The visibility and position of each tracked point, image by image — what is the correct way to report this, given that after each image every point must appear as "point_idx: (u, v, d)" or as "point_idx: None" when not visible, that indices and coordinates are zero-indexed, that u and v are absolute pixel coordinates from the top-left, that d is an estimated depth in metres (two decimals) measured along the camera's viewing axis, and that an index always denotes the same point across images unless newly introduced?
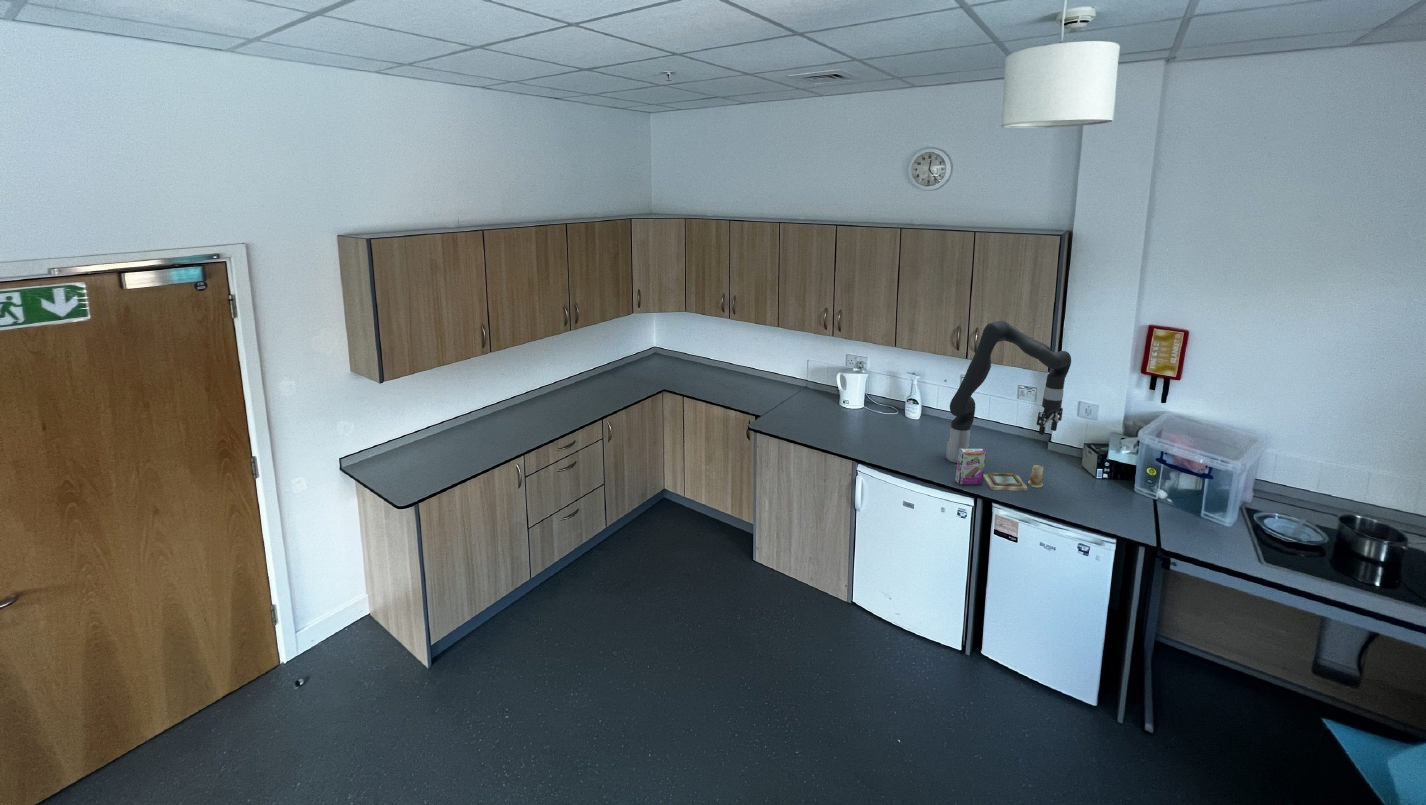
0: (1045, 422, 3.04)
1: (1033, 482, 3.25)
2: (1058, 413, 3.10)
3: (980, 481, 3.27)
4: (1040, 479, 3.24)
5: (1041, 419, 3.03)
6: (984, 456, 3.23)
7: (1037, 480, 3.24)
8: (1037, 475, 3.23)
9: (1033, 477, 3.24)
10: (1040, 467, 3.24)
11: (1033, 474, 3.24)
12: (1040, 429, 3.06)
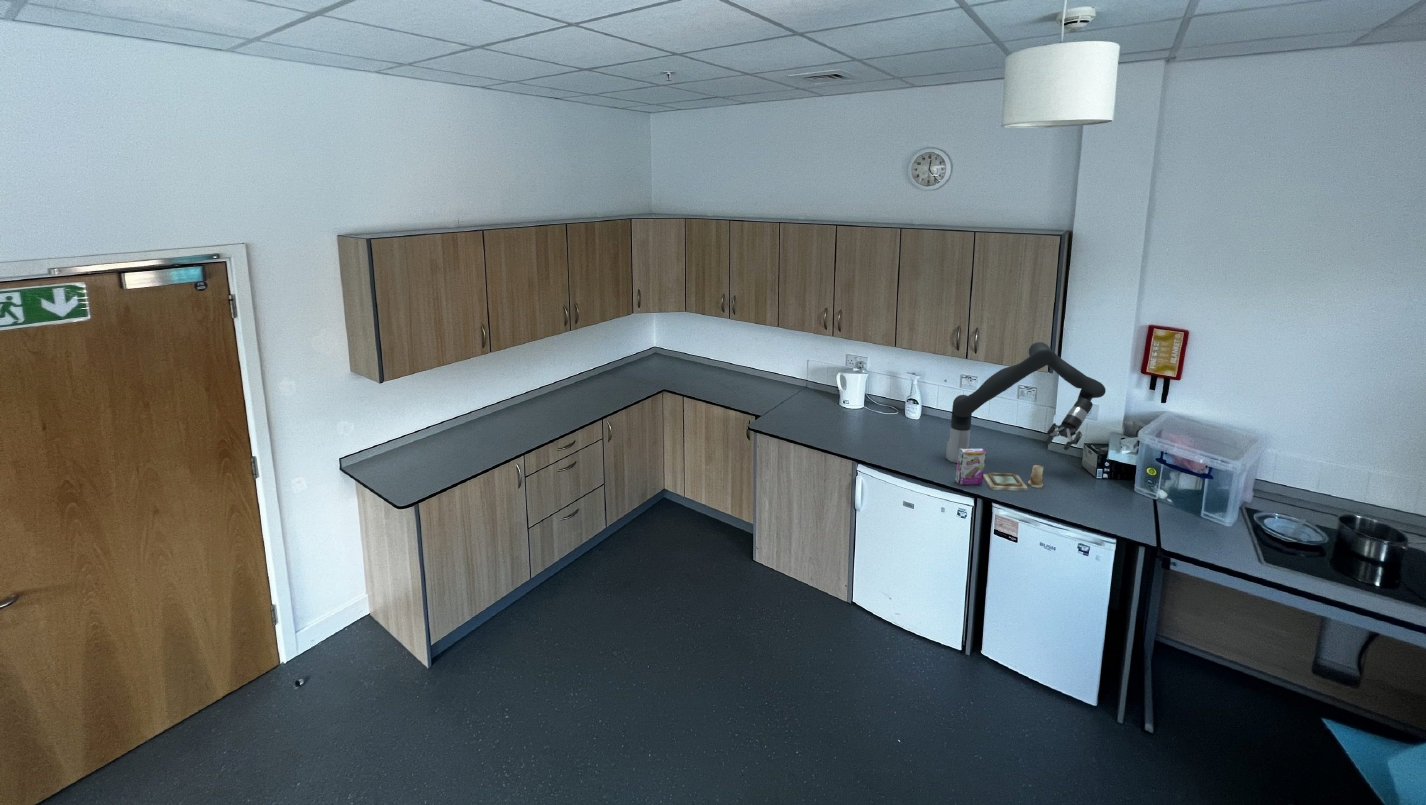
0: None
1: (1033, 482, 3.25)
2: (1053, 429, 3.33)
3: (980, 481, 3.27)
4: (1040, 479, 3.24)
5: (1079, 438, 3.23)
6: (984, 456, 3.23)
7: (1037, 480, 3.24)
8: (1037, 475, 3.23)
9: (1033, 477, 3.24)
10: (1040, 467, 3.24)
11: (1033, 474, 3.24)
12: (1069, 445, 3.23)
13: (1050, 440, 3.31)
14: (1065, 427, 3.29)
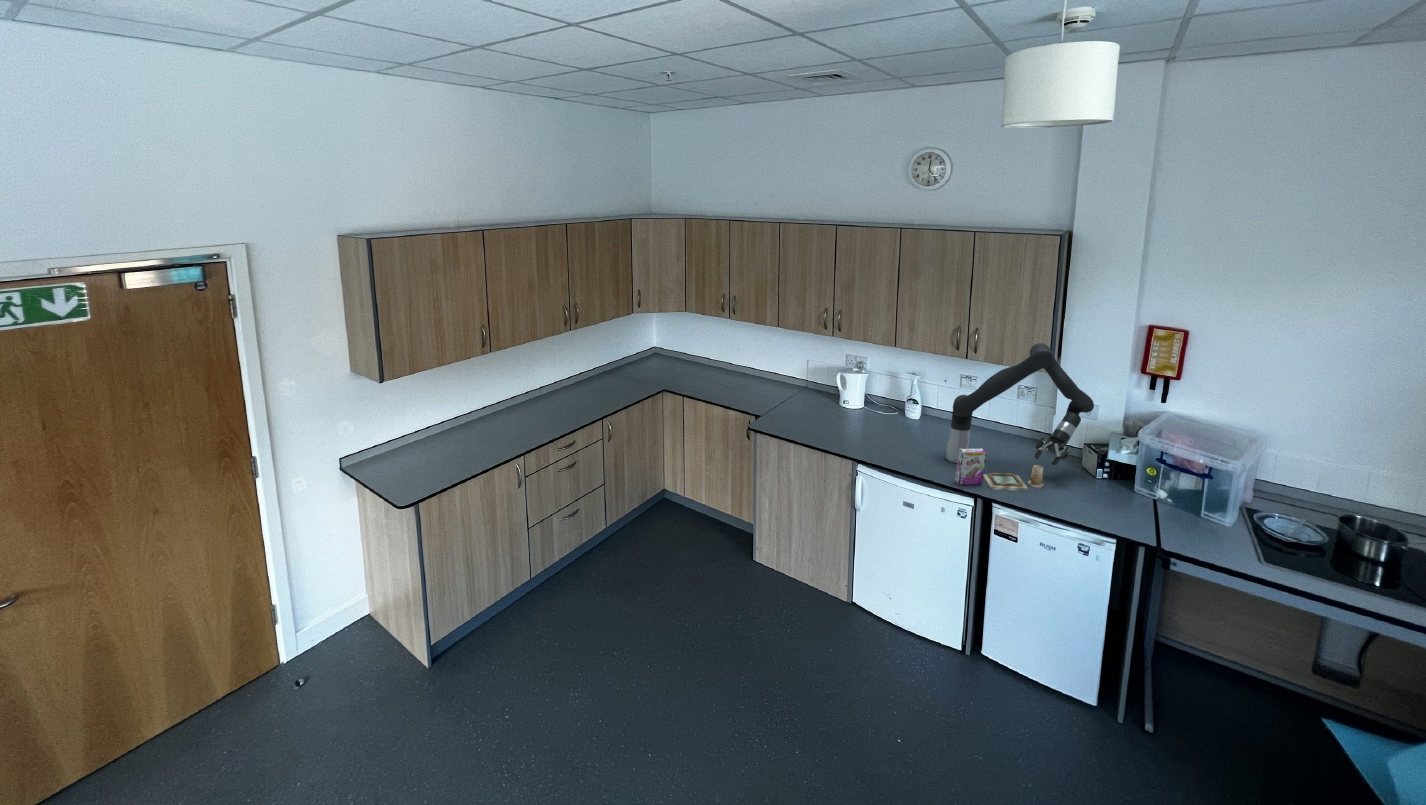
0: None
1: (1033, 482, 3.25)
2: (1042, 444, 3.31)
3: (980, 481, 3.27)
4: (1040, 479, 3.24)
5: (1067, 453, 3.22)
6: (984, 456, 3.23)
7: (1037, 480, 3.24)
8: (1037, 475, 3.23)
9: (1033, 477, 3.24)
10: (1040, 467, 3.24)
11: (1033, 474, 3.24)
12: (1057, 460, 3.22)
13: (1038, 455, 3.29)
14: (1053, 442, 3.27)
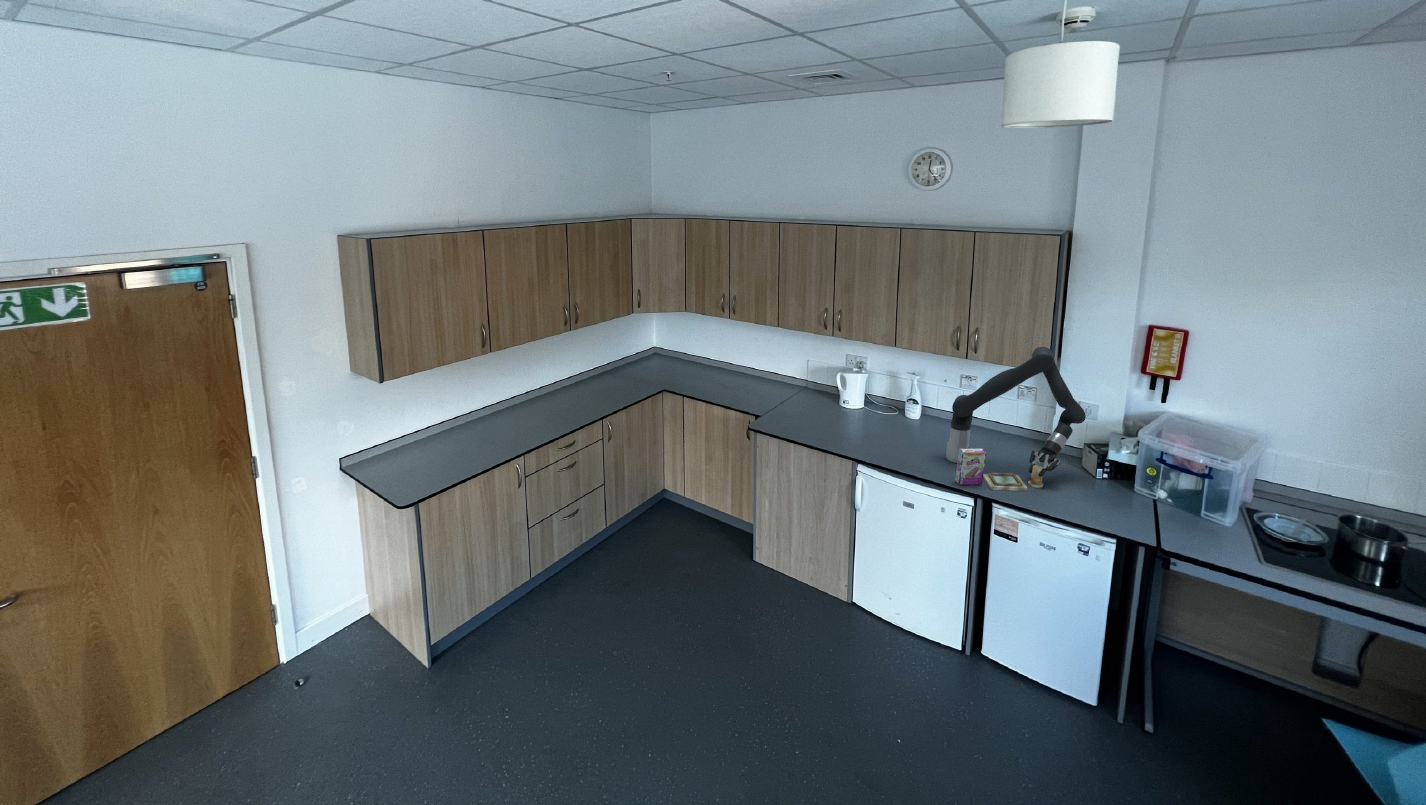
0: None
1: (1033, 482, 3.25)
2: (1034, 457, 3.29)
3: (980, 481, 3.27)
4: (1040, 479, 3.24)
5: (1055, 466, 3.21)
6: (984, 456, 3.23)
7: (1037, 480, 3.24)
8: (1037, 475, 3.23)
9: (1033, 477, 3.24)
10: (1040, 467, 3.24)
11: (1033, 474, 3.24)
12: (1044, 472, 3.21)
13: (1032, 469, 3.26)
14: (1045, 453, 3.25)
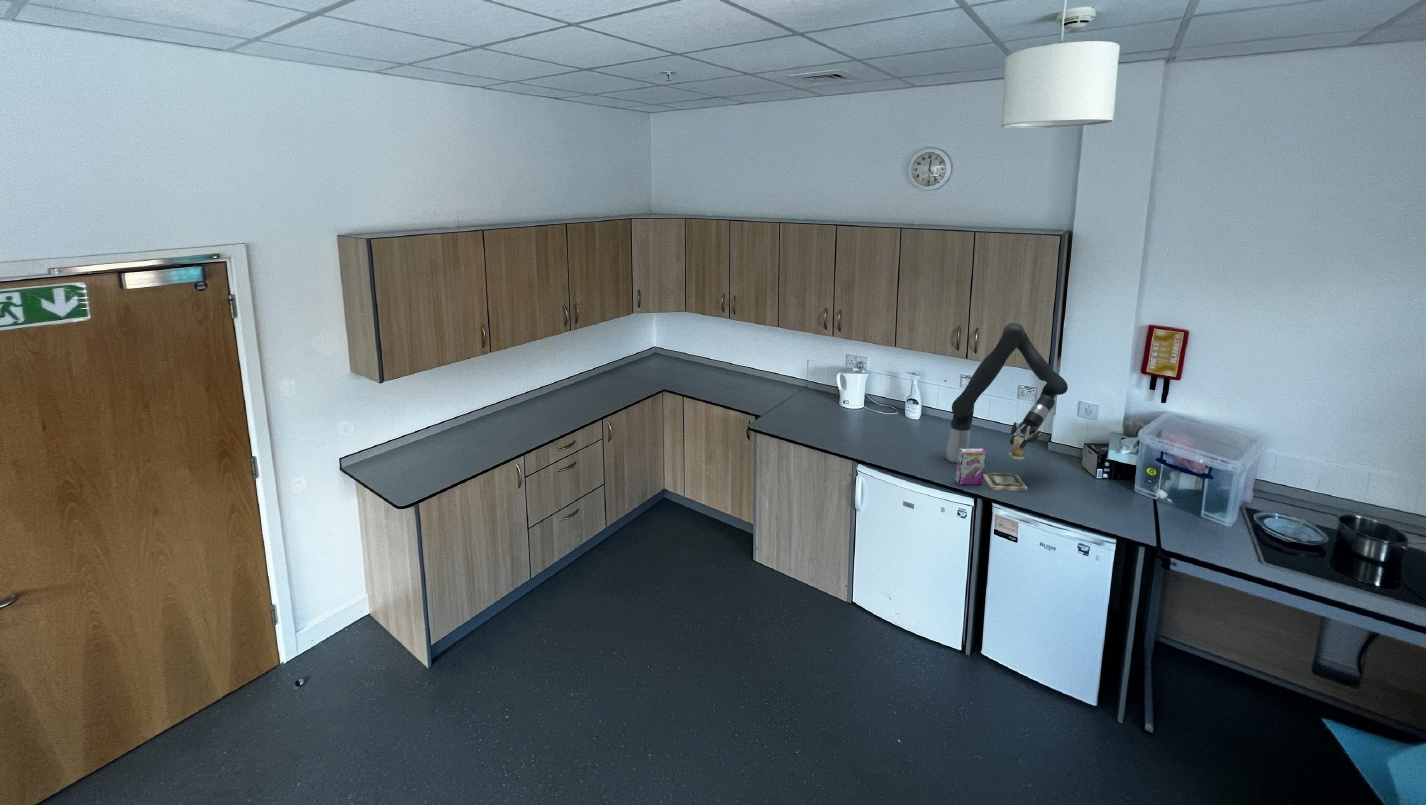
0: None
1: (1014, 453, 3.22)
2: (1015, 428, 3.26)
3: (980, 481, 3.27)
4: (1021, 450, 3.20)
5: (1037, 437, 3.17)
6: (984, 456, 3.23)
7: (1018, 452, 3.21)
8: (1018, 446, 3.20)
9: (1014, 448, 3.21)
10: (1021, 438, 3.20)
11: (1014, 445, 3.21)
12: (1025, 443, 3.18)
13: (1013, 440, 3.23)
14: (1026, 424, 3.22)
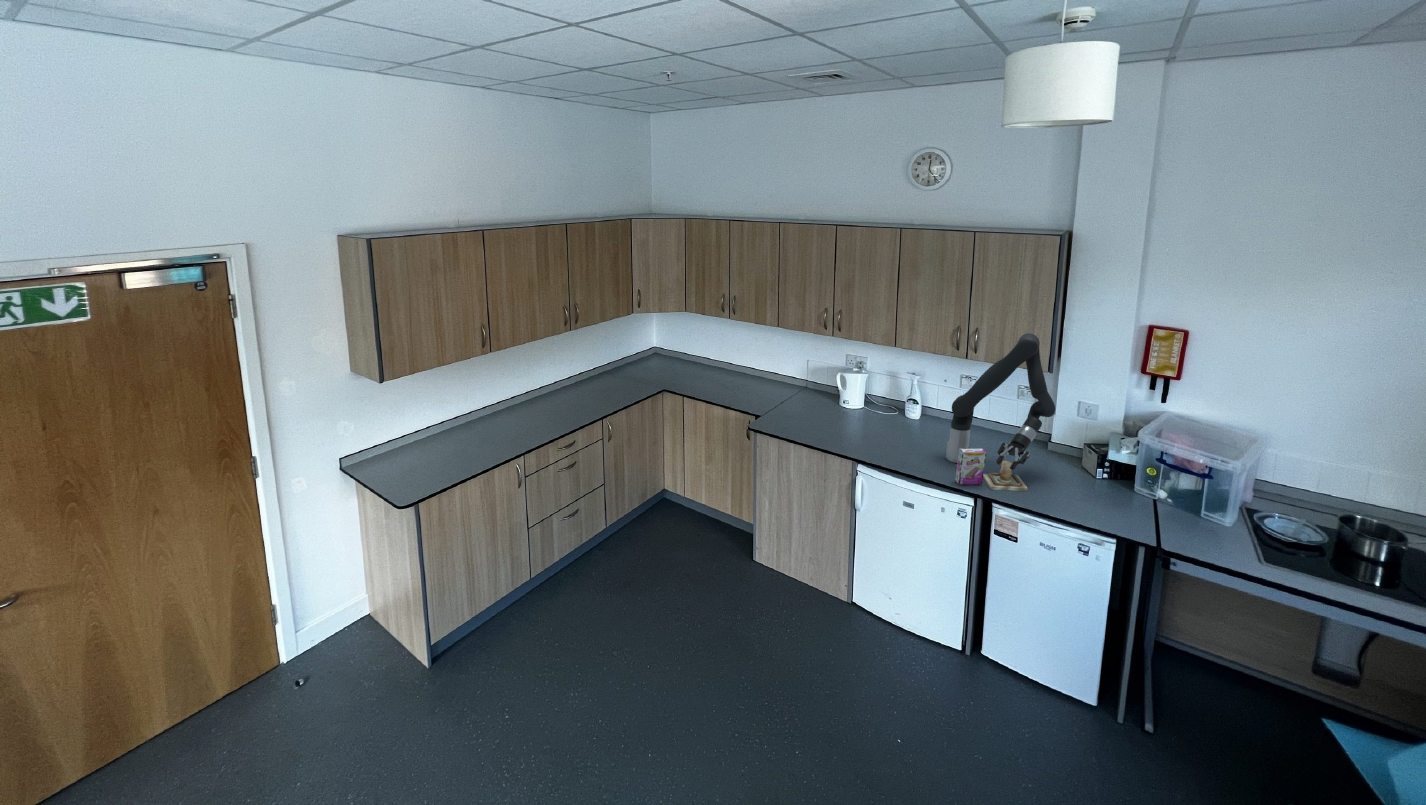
0: (1019, 460, 3.23)
1: (1002, 477, 3.26)
2: (1003, 449, 3.30)
3: (980, 481, 3.27)
4: (1009, 474, 3.25)
5: (1026, 458, 3.21)
6: (984, 456, 3.23)
7: (1006, 476, 3.25)
8: (1006, 470, 3.24)
9: (1002, 472, 3.25)
10: (1009, 463, 3.25)
11: (1002, 469, 3.25)
12: (1015, 465, 3.21)
13: (1000, 460, 3.27)
14: (1014, 446, 3.26)
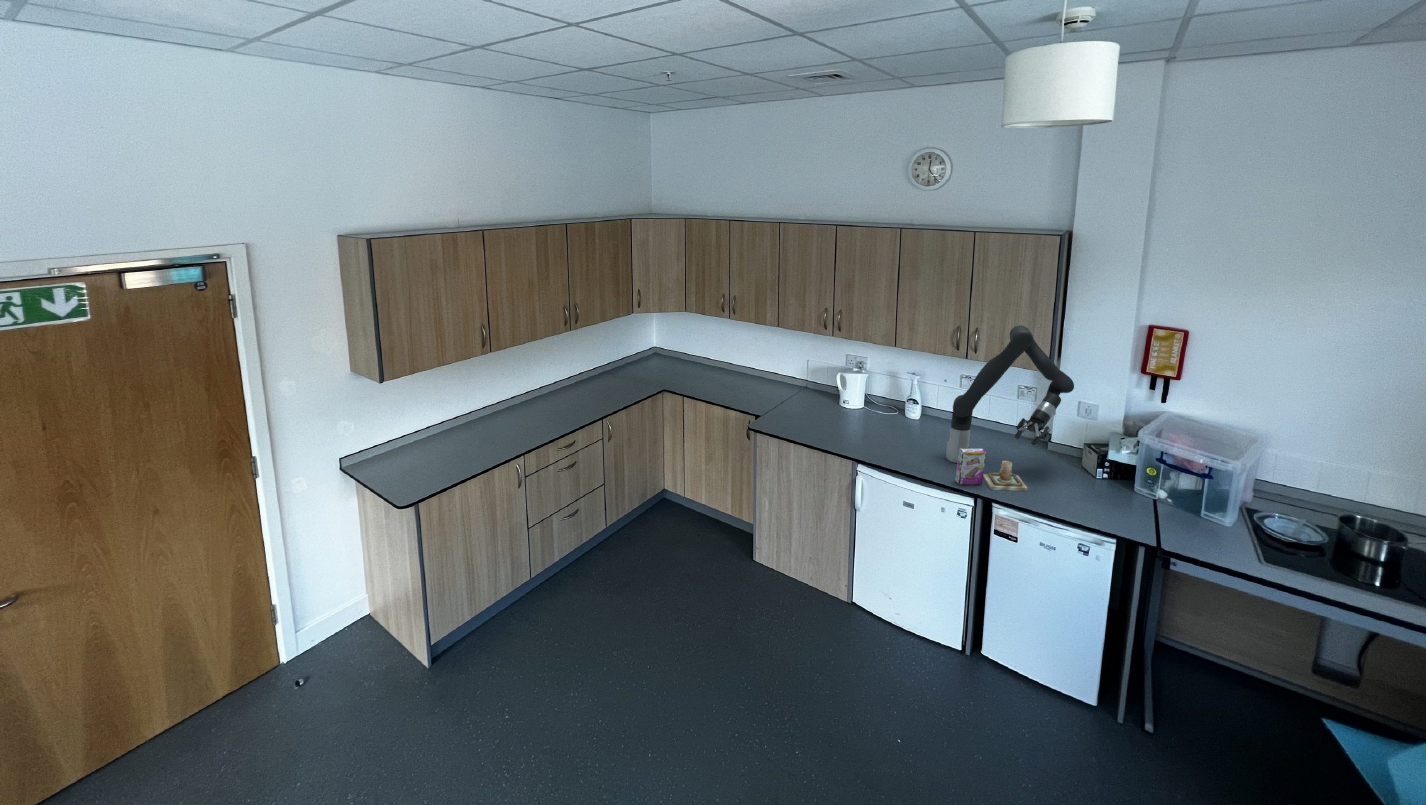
0: (1040, 435, 3.25)
1: (1002, 477, 3.26)
2: (1022, 424, 3.33)
3: (980, 481, 3.27)
4: (1009, 474, 3.25)
5: (1047, 433, 3.23)
6: (984, 456, 3.23)
7: (1005, 476, 3.25)
8: (1006, 470, 3.24)
9: (1002, 472, 3.25)
10: (1009, 463, 3.25)
11: (1002, 469, 3.25)
12: (1037, 440, 3.24)
13: (1019, 435, 3.31)
14: (1033, 422, 3.29)
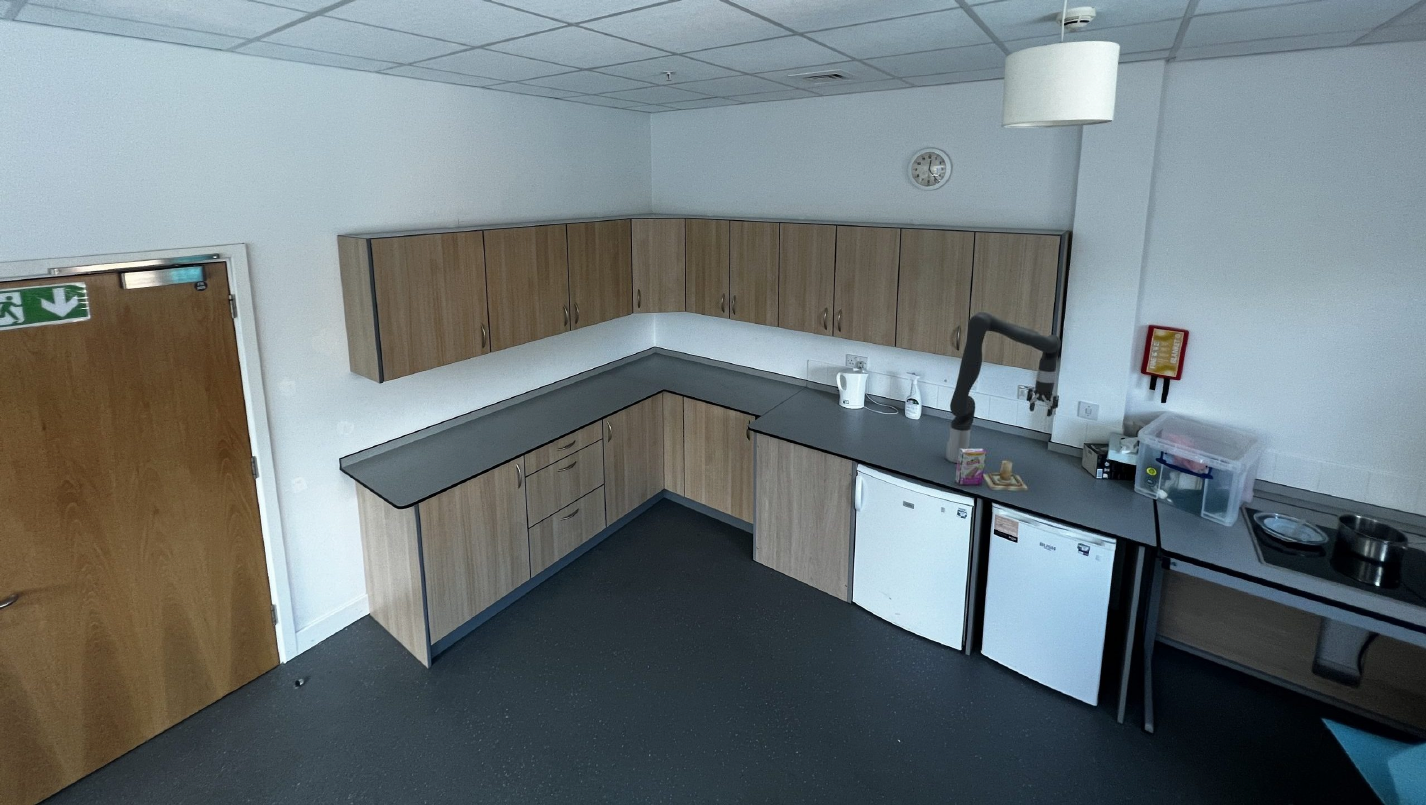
0: (1052, 403, 3.19)
1: (1002, 477, 3.26)
2: (1031, 394, 3.26)
3: (980, 481, 3.27)
4: (1009, 474, 3.25)
5: (1057, 401, 3.16)
6: (984, 456, 3.23)
7: (1005, 476, 3.25)
8: (1006, 470, 3.24)
9: (1002, 472, 3.25)
10: (1009, 463, 3.25)
11: (1002, 469, 3.25)
12: (1051, 411, 3.19)
13: (1033, 407, 3.27)
14: (1040, 392, 3.21)
